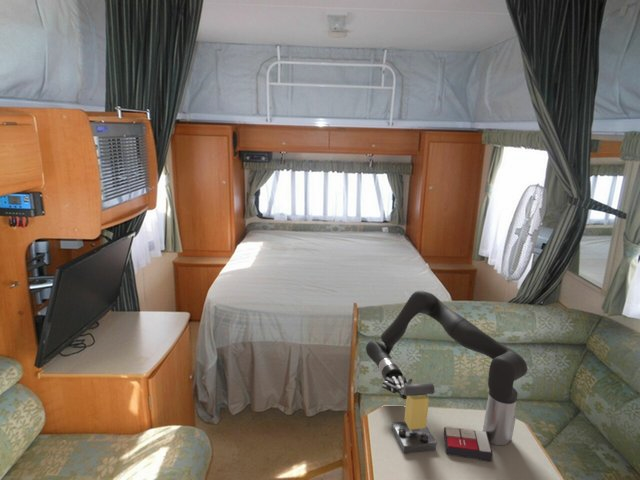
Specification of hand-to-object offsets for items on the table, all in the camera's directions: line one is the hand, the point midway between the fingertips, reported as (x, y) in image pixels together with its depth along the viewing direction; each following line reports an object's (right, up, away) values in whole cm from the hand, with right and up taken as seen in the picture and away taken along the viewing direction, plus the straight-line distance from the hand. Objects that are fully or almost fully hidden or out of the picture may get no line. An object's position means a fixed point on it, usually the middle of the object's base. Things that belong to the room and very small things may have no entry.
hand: (405, 397), depth 159 cm
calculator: (+20, -15, -8) cm, 26 cm away
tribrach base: (+1, -13, -6) cm, 14 cm away
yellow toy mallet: (+2, -9, -7) cm, 11 cm away
